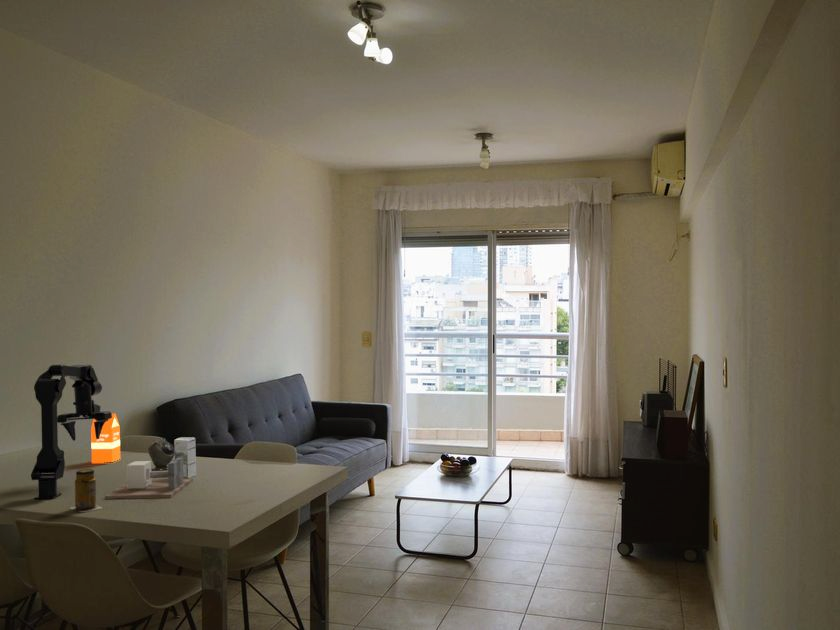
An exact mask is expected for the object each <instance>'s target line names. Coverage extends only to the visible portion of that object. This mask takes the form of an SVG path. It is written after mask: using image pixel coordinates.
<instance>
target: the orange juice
mask: <svg viewBox="0 0 840 630" xmlns="http://www.w3.org/2000/svg"><path fill="white" fill-rule="evenodd" d="M111 414H112V418H111V419H109V420H108V421H106V422H105V423H104V425H103V427H102V430H101V434H100V437H99V439H96V435H95V427H94V422H96V420H95V419H92V425H91V429H90V432H91V433H90V434H91V435H90V436H91V438H90V439H91V440H90V441H91V447H90V448H91V464H107V463H106V462H114V461H116V462H118V461H120V460H121V429H120V427H121V425H120V424H119V419H118V418H117V417H118V416H117V415H116V413H111ZM119 459H120V460H119ZM117 460H118V461H117ZM104 462H105V463H104ZM114 463H115V462H114Z"/></svg>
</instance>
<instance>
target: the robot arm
mask: <svg viewBox="0 0 840 630" xmlns="http://www.w3.org/2000/svg"><path fill="white" fill-rule="evenodd" d="M54 377H60V379H59V378H54ZM66 377H69V379H71V380H72V381H74V383H73V384H72V386H71V388H72V389H73V391H74V402H73V403H72V404H73V405H72V406H75V412H67V413H65V412H64V413H61V414H59V415H58V403H59V402H60V400H61V398H62V397H63V391H64V389H65V387H66V386H67V380H66ZM102 390H103V386H102V384H101V382H100V381H99V379H98V376H97V374H96V372H95V369H94V367H93V366H92V365H91V364H73V365H65V364H51V365H50V366H49V367H48V368H47V370H46V371H45V372H43V373H42V374H40V375H39V376H38V378H37V379H36V380H35V383H34V385H33V391H34V394H35V395H34V396H35V399H36V401H37V402H38V403H39V404H40V413H41V415H40V416H41V418H40V419H41V449H40V451H39V452H38V454H37V456H36V462H35V464H34V467H33V469H32V471H31V474H30V477H31V481H37V482H38V483H37V484H38V485H37V486H38V487H37V489H38V490H37V491H38V495H36V496H35V497H33V499H34V500H47V499H48V500H50V499H51V500H52V499H55V498H57V497H59V496H61V495H62V492H58V480H60V479H62V478H63V477H64V472H65V467H66V465H65V464H66V463H65V452H64V450H63V449H61V448H60V447H59V439H58V436H59V435H58V424H60V425H61V426H63V428H65V430H66V432H67V433H68V435H69V436H70V438H71V440H72V441H74V442H75V441H76V429H75V428H76V427H75V426H76V421H78V420H94V419H95V420H96V422H94V427H95V435H96V439H99V437H100V434H101V430H102V427H103V425H104V423H105V422H106V421H108V420H109V419H111V418H112V414H113V413H112V412H111V410H105V411H104V410H103V411H101V405H99V404H97V403H95V401H94V399H93V398H92V397H93V396H96V395H99V394H100V393H102Z"/></svg>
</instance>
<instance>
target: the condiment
mask: <svg viewBox="0 0 840 630" xmlns="http://www.w3.org/2000/svg"><path fill="white" fill-rule="evenodd" d="M75 476H76V477H75V478H76V479H75V480H74V504H75V505H74V507H73V506H72V507H69V509H70V510H73V511H75V512H79V513H85V512H93V511H97V510H102V509H104V507H102V506H100V505H97V489H96V488H97V487H96V486H97V483H96V481H97V479H96V478H95V470H94V469H90V468H87V469H85V468H84V469H78V470H77V471H76V473H75ZM96 506H97V507H96Z"/></svg>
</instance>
